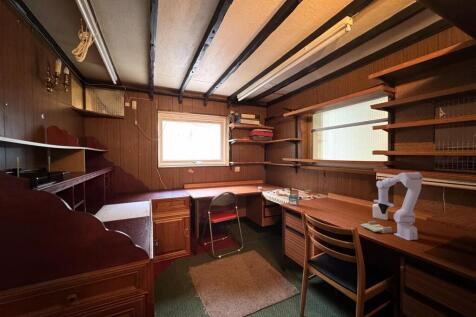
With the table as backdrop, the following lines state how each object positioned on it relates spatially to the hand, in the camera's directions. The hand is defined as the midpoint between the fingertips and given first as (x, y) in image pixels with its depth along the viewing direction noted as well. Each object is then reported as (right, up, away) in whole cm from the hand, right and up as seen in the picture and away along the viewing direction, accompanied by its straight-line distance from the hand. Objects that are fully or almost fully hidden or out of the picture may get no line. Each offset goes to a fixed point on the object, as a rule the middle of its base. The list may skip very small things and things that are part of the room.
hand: (383, 213), depth 141 cm
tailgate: (-12, -8, -6) cm, 16 cm away
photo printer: (+10, -9, +16) cm, 21 cm away
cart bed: (-8, -10, -5) cm, 14 cm away
